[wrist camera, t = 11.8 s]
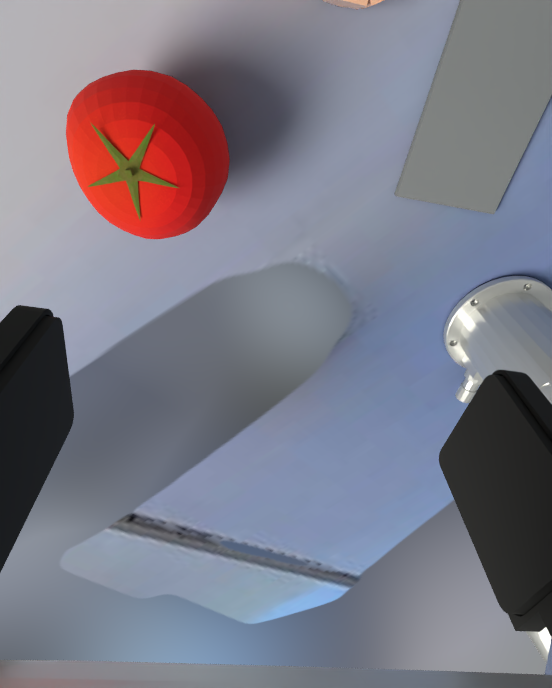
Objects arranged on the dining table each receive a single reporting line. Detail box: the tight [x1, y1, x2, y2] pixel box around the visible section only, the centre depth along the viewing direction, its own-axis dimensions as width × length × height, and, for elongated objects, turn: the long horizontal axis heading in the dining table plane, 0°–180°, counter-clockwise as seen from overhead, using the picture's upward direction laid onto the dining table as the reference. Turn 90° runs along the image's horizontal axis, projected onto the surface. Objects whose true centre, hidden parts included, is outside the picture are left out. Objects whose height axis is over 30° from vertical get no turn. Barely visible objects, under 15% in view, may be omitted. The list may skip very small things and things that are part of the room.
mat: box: [395, 0, 552, 214], centre depth 36 cm, size 16×10×1 cm, turn 170°
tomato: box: [66, 70, 230, 239], centre depth 31 cm, size 11×11×13 cm
